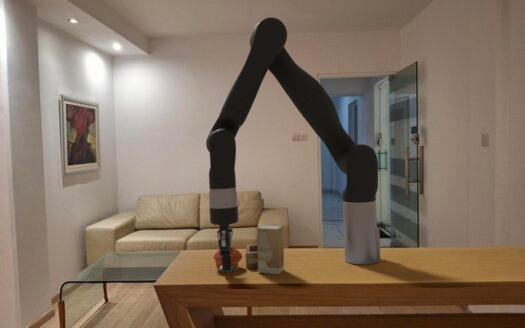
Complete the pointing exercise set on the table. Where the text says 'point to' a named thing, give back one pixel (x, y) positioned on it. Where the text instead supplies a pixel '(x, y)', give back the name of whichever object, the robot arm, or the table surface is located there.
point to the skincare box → (270, 249)
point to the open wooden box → (251, 256)
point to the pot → (235, 258)
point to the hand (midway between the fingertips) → (226, 269)
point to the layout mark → (230, 270)
